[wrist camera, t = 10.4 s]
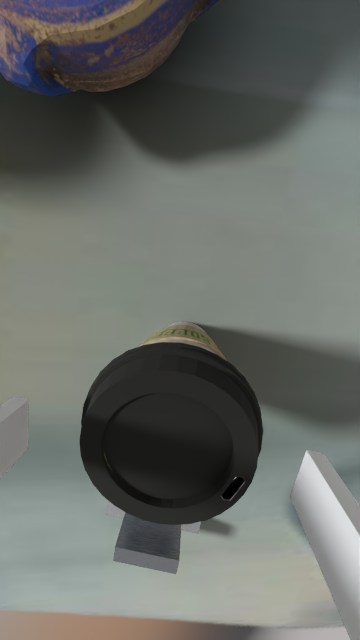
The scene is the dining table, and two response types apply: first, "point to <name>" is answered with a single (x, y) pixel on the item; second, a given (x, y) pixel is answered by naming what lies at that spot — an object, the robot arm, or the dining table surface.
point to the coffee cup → (171, 429)
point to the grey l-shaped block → (148, 541)
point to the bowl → (89, 41)
